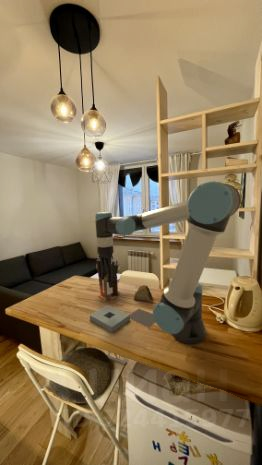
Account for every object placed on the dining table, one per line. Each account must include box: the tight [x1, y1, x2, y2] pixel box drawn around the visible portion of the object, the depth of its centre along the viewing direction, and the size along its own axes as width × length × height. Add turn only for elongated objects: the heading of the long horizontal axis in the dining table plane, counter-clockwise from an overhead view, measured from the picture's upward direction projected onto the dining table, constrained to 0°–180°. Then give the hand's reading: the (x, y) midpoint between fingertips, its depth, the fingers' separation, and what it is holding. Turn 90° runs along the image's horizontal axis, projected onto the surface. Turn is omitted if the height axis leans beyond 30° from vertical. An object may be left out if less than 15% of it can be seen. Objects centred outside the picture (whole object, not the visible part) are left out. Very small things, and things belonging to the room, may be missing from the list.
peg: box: [104, 275, 112, 302], centre depth 95 cm, size 3×3×12 cm
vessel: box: [95, 263, 120, 300], centre depth 125 cm, size 14×14×20 cm
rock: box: [133, 284, 153, 302], centre depth 117 cm, size 11×9×10 cm
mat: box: [129, 308, 156, 328], centre depth 98 cm, size 14×10×1 cm
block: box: [89, 304, 131, 333], centre depth 97 cm, size 16×12×3 cm
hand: (107, 292), depth 95 cm, fingers closed on peg, 2 cm apart
